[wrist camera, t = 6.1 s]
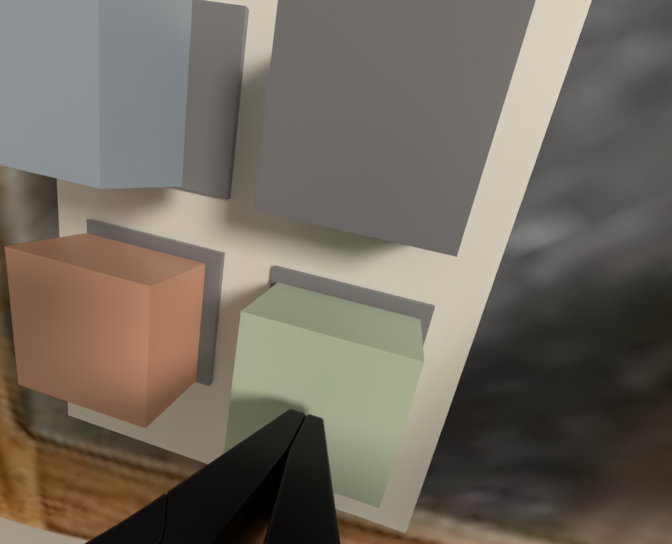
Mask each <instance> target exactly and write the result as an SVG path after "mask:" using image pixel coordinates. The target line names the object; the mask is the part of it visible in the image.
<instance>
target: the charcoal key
mask: <svg viewBox="0 0 672 544" xmlns="http://www.w3.org/2000/svg"><path fill="white" fill-rule="evenodd" d="M535 1H536V0H278V4H277V12H276V21H275V29H274V38H273V46H272V54H271V63H270V71H269V79H268V88H267V96H266V105H265V113H264V121H263V130H262V138H261V146H260V155H259V163H258V172H257V180H256V188H255V197H254V205H253V210H255V211H259V212H263V213H268V214H272V215H277V216H281V217H285V218H290V219H294V220H298V221H303V222H307V223H311V224H316V225H320V226H325V227H329V228H333V229H338V230H342V231H346V232H351V233H355V234H359V235H364V236H368V237H372V238H377V239H381V240H386V241H390V242H394V243H399V244H403V245H407V246H412V247H416V248H420V249H425V250H429V251H434V252H438V253H442V254H447V255H451V256H455V257H457V254H458V251H459V248H460V245H461V241H462V238H463V235H464V232H465V228H466V225H467V222H468V219H469V215H470V212H471V209H472V206H473V202H474V199H475V196H476V193H477V189H478V186H479V183H480V180H481V176H482V173H483V170H484V167H485V163H486V160H487V157H488V154H489V150H490V147H491V144H492V141H493V137H494V134H495V131H496V128H497V124H498V121H499V118H500V115H501V111H502V108H503V105H504V102H505V98H506V95H507V92H508V89H509V85H510V82H511V79H512V76H513V72H514V69H515V66H516V63H517V59H518V56H519V53H520V50H521V46H522V43H523V40H524V37H525V33H526V30H527V27H528V24H529V20H530V17H531V14H532V11H533V7H534V4H535Z"/></svg>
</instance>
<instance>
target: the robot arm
mask: <svg viewBox="0 0 672 544" xmlns="http://www.w3.org/2000/svg"><path fill="white" fill-rule="evenodd" d="M85 544H340V538H339V531H338V523H337V516H336V508H335V501H334V493H333V486H332V478H331V471H330V463H329V456H328V449H327V441H326V434H325V426H324V420H323V419H322V418H321V417H318V416H315V415H311V414H308V415H306V414H305V413H304V412H302V411H299V410H295V409H289V410H287V411H286V412H284V413H283V414H281V415H280V416H278V417H277V418H275V419H274V420H272V421H271V422H269V423H268V424H266V425H265V426H263V427H262V428H260V429H259V430H258V431H256V432H255V433H253V434H252V435H250V436H249V437H247V438H246V439H244V440H243V441H241V442H240V443H238V444H237V445H235V446H234V447H232V448H231V449H229V450H228V451H227V452H225V453H224V454H222V455H221V456H219V457H218V458H216V459H215V460H213V461H212V462H210V463H209V464H207V465H206V466H204V467H203V468H201V469H200V470H199V471H197V472H196V473H194V474H193V475H191V476H190V477H188V478H187V479H185V480H184V481H182V482H181V483H179V484H178V485H176V486H175V487H173V488H172V489H170V490H169V491H168V492H167V495H166V494H163V495H161V496H160V497H158V498H157V499H155V500H154V501H152V502H151V503H150V504H148V505H147V506H145V507H143V508H142V509H140V510H139V511H137V512H136V513H134V514H133V515H131V516H130V517H128V518H126V519H125V520H123V521H122V522H120V523H119V524H117V525H116V526H114V527H112V528H110V529H109V530H107V531H105V532H104V533H102V534H100V535H98V536H97V537H95V538H93V539H92V540H90V541H88V542H87V543H85Z"/></svg>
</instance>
